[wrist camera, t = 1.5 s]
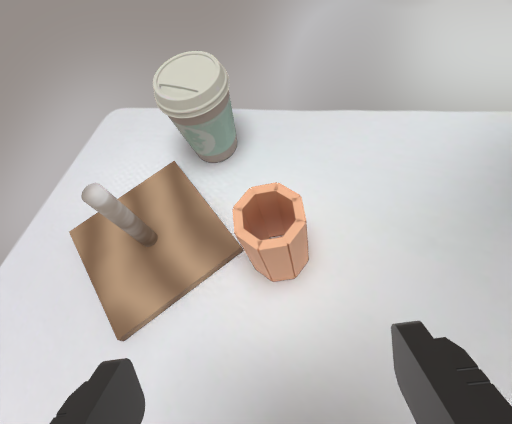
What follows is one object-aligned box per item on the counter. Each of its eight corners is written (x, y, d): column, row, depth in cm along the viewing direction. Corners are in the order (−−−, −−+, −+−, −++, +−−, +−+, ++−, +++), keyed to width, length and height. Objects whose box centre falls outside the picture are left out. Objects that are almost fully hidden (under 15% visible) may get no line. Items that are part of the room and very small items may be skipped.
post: (177, 165, 43) (132, 98, 33) (243, 250, 36) (212, 199, 26) (75, 235, 41) (-10, 187, 30) (123, 341, 34) (34, 326, 23)
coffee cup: (177, 144, 45) (135, 74, 35) (226, 112, 46) (200, 36, 36) (206, 182, 41) (169, 118, 31) (259, 147, 43) (240, 73, 32)
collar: (301, 225, 36) (297, 178, 28) (311, 276, 34) (310, 241, 25) (251, 234, 37) (230, 190, 28) (256, 284, 34) (236, 253, 25)
